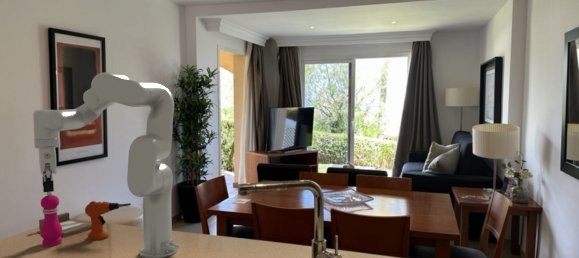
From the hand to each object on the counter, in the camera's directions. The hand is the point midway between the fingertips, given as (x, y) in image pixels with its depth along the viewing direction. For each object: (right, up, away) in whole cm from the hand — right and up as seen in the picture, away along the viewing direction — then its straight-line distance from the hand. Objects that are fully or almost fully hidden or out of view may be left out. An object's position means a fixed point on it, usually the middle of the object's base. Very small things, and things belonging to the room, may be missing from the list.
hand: (48, 189), depth 149 cm
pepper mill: (+1, -21, +2) cm, 21 cm away
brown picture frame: (-3, -20, +17) cm, 26 cm away
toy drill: (+19, -20, +8) cm, 29 cm away
